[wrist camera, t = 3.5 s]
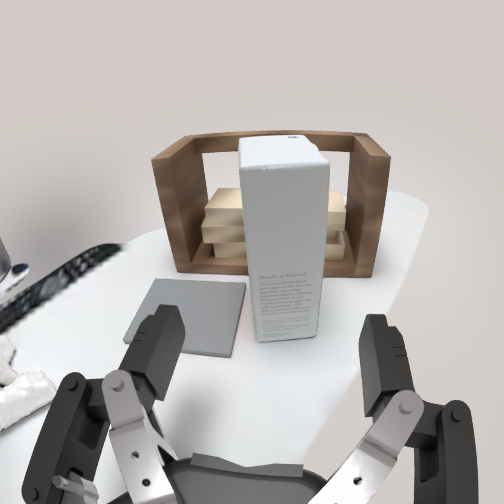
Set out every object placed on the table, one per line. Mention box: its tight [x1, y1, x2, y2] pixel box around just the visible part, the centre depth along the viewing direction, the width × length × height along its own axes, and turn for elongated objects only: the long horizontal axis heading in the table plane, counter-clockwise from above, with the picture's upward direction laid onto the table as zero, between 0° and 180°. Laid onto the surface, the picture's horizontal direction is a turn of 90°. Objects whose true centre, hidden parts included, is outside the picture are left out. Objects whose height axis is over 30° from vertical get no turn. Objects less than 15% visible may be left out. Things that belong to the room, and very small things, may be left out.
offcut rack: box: [151, 130, 391, 277], centre depth 25 cm, size 17×8×10 cm, turn 83°
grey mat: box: [123, 279, 246, 358], centre depth 21 cm, size 8×7×1 cm
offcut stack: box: [201, 188, 346, 261], centre depth 25 cm, size 12×5×5 cm, turn 83°
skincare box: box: [238, 135, 330, 342], centre depth 18 cm, size 6×4×12 cm
